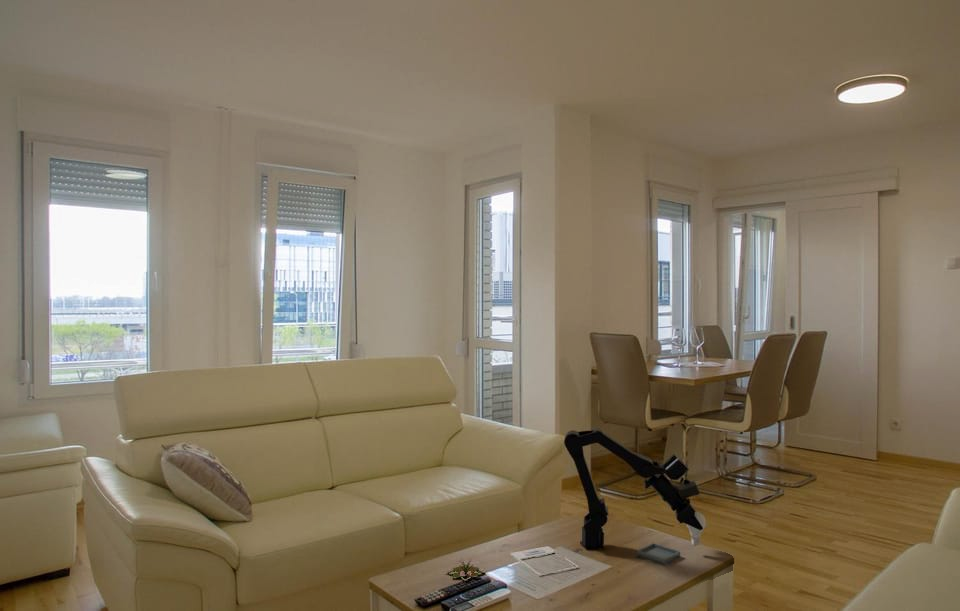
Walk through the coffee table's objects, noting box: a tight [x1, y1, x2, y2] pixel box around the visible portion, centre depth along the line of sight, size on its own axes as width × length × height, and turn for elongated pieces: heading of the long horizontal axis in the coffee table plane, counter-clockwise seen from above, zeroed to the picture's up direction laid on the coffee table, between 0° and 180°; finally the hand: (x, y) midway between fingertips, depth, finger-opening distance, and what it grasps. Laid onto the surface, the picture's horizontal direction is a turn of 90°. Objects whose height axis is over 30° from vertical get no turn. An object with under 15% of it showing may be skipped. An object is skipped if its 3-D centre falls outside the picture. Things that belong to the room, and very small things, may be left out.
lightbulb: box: [685, 511, 707, 547], centre depth 202 cm, size 6×6×11 cm
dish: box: [636, 542, 681, 567], centre depth 199 cm, size 10×10×2 cm
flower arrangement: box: [446, 558, 486, 581], centre depth 184 cm, size 12×12×5 cm
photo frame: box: [509, 546, 580, 575], centre depth 195 cm, size 15×1×18 cm
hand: (700, 525), depth 202 cm, fingers closed on lightbulb, 6 cm apart
